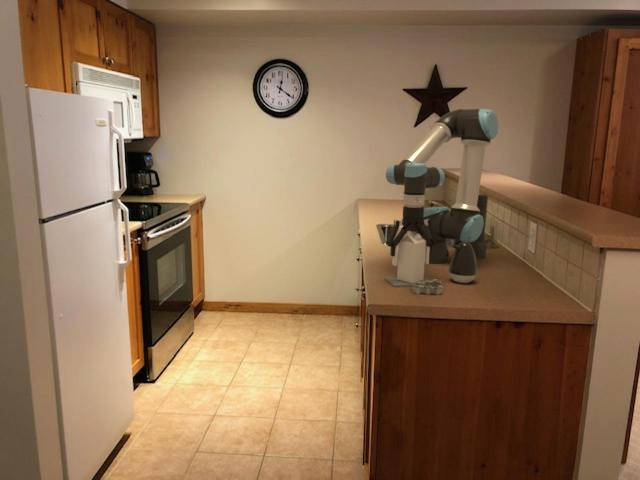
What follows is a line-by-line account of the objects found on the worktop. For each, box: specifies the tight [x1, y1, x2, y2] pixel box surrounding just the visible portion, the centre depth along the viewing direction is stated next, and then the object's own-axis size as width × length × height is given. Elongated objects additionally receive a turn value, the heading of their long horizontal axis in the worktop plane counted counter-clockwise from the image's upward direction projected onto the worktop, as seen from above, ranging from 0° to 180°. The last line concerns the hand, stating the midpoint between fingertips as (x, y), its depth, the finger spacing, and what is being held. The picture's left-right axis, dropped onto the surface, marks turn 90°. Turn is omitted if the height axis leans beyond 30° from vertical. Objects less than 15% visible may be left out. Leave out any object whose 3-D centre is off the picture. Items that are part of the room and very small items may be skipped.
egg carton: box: [410, 278, 444, 295], centre depth 187 cm, size 11×8×4 cm
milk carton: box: [396, 231, 426, 283], centre depth 197 cm, size 7×7×19 cm
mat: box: [383, 275, 432, 288], centre depth 199 cm, size 16×10×1 cm, turn 104°
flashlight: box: [470, 194, 489, 260], centre depth 238 cm, size 7×28×7 cm
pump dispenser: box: [448, 241, 478, 284], centre depth 199 cm, size 10×10×15 cm
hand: (410, 264), depth 197 cm, fingers open, 12 cm apart
